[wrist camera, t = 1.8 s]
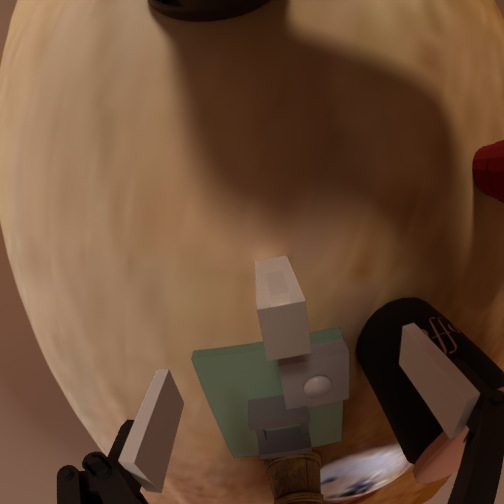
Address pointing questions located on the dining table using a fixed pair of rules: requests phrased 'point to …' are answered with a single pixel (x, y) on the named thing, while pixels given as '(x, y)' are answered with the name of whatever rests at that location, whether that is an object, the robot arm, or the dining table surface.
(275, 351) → the plug
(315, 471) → the wooden mug
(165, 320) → the dining table surface
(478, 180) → the plastic cup
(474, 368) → the coffee jar
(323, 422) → the board
